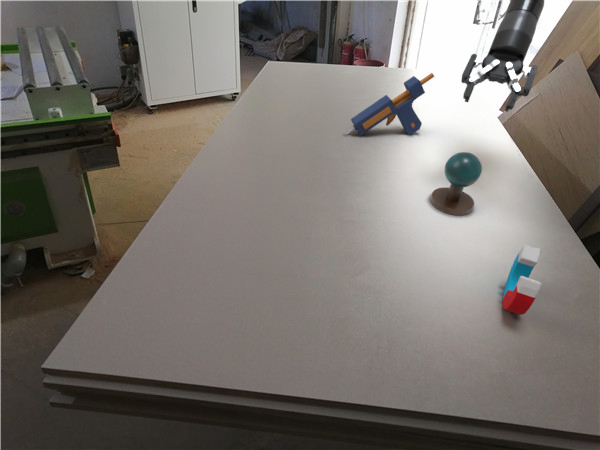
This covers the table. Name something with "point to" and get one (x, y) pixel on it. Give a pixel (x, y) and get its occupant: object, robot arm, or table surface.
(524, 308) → the magnet
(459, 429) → the table surface
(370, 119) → the glue gun
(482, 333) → the table surface
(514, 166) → the table surface
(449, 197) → the ball stand
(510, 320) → the table surface
